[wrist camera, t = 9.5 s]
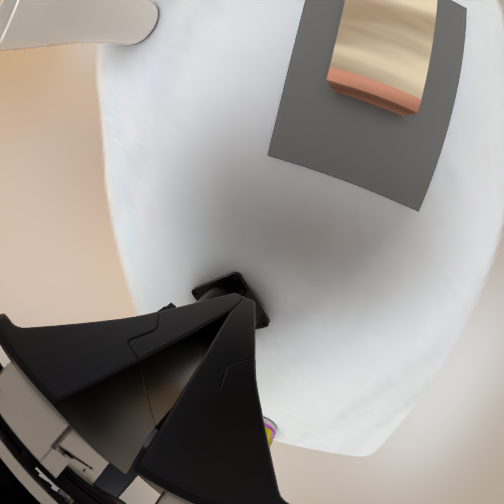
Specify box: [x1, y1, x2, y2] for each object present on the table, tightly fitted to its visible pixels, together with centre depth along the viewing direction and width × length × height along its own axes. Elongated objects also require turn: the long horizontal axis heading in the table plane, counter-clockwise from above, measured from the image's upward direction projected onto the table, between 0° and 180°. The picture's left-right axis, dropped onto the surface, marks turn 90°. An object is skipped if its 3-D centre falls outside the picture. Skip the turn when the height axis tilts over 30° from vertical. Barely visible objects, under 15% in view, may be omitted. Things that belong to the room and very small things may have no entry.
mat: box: [268, 0, 467, 212], centre depth 14 cm, size 18×12×1 cm, turn 167°
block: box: [327, 0, 437, 116], centre depth 10 cm, size 5×5×12 cm
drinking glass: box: [0, 0, 158, 51], centre depth 11 cm, size 7×7×15 cm
